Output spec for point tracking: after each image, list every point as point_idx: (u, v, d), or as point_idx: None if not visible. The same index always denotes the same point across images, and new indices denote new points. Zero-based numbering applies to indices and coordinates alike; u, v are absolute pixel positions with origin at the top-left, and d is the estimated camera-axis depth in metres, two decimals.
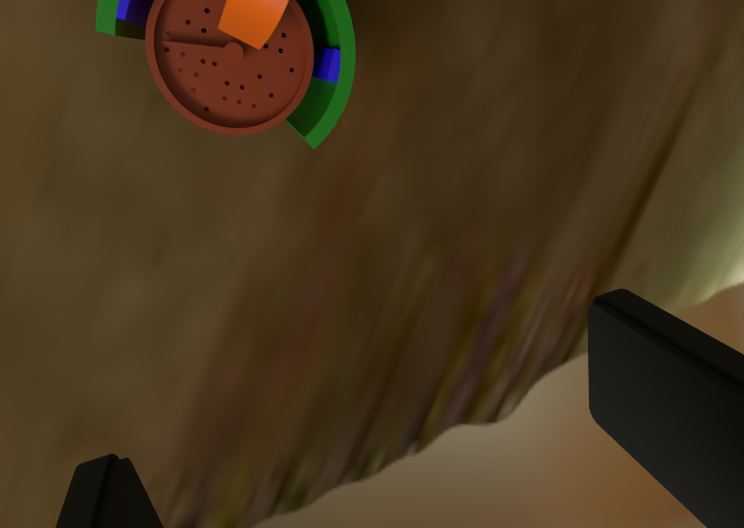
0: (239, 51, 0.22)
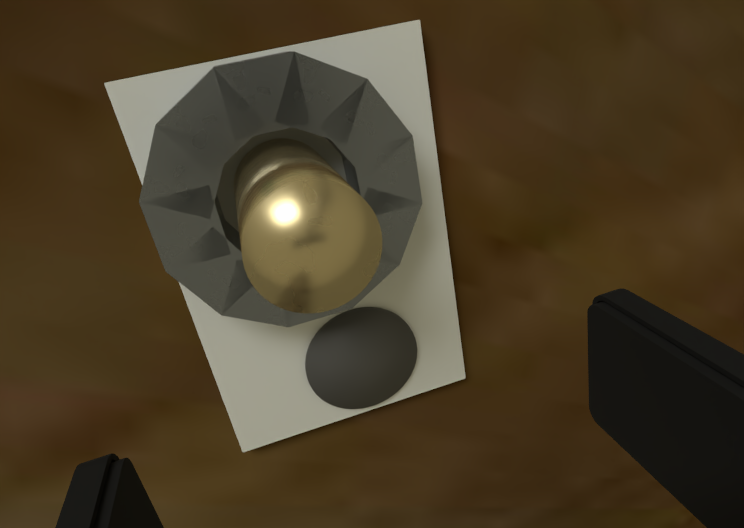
0: None
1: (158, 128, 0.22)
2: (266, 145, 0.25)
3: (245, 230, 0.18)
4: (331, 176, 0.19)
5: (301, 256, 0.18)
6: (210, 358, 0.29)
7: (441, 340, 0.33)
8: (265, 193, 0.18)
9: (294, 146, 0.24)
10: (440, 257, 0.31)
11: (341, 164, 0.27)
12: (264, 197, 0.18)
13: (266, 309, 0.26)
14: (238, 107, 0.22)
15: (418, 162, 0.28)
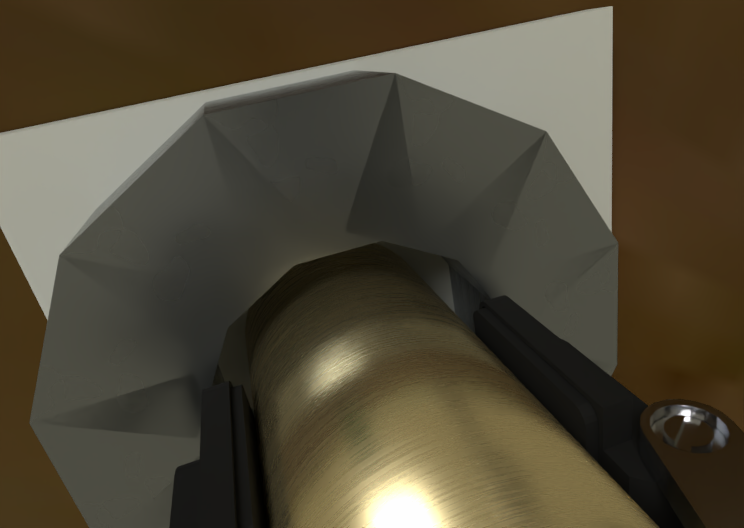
0: None
1: (69, 262, 0.09)
2: (314, 263, 0.12)
3: None
4: (570, 470, 0.06)
5: None
6: None
7: None
8: None
9: (378, 273, 0.11)
10: None
11: (447, 279, 0.15)
12: None
13: None
14: (261, 204, 0.09)
15: None
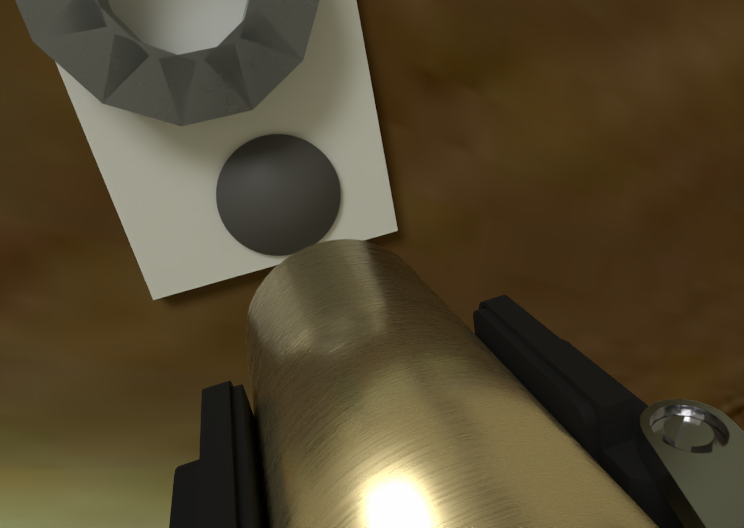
0: None
1: None
2: (314, 264, 0.12)
3: None
4: (570, 471, 0.06)
5: None
6: (108, 181, 0.27)
7: (367, 182, 0.31)
8: None
9: (378, 273, 0.11)
10: (360, 81, 0.29)
11: None
12: None
13: (154, 101, 0.24)
14: None
15: None
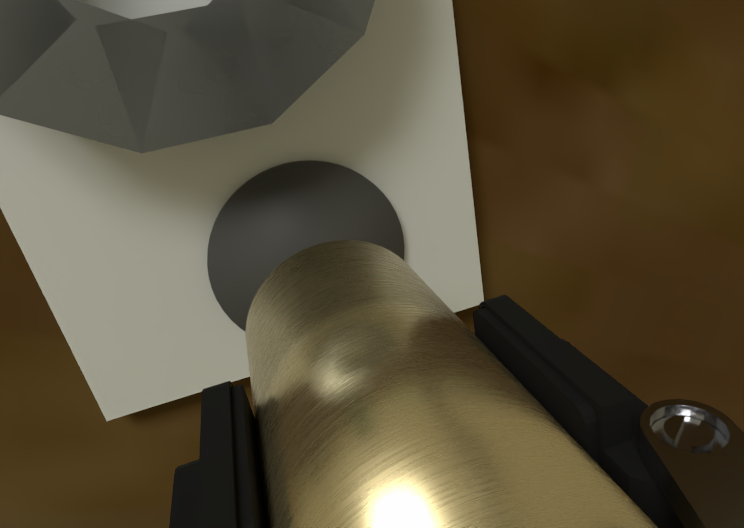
0: None
1: None
2: (314, 265, 0.12)
3: None
4: (571, 473, 0.06)
5: None
6: (23, 241, 0.16)
7: (445, 233, 0.20)
8: None
9: (378, 274, 0.11)
10: (443, 74, 0.18)
11: None
12: None
13: (89, 107, 0.13)
14: None
15: None
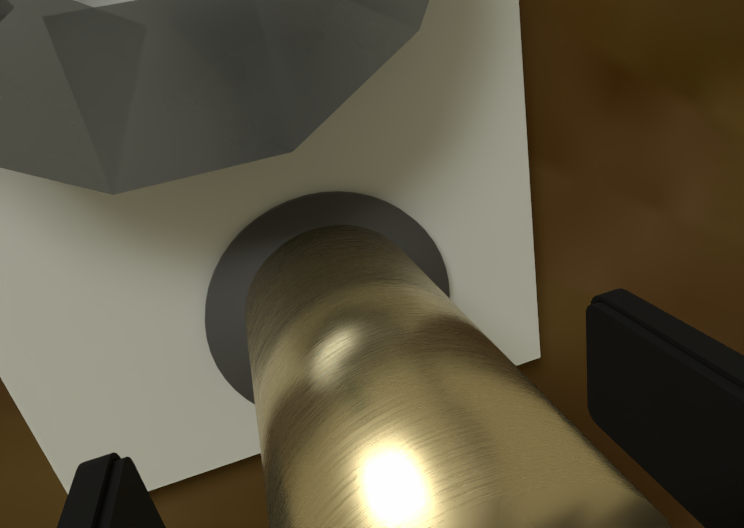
0: None
1: None
2: (311, 247, 0.13)
3: None
4: (541, 422, 0.07)
5: None
6: None
7: (498, 276, 0.16)
8: (366, 515, 0.06)
9: (371, 255, 0.12)
10: (503, 82, 0.14)
11: None
12: None
13: (36, 133, 0.09)
14: None
15: None
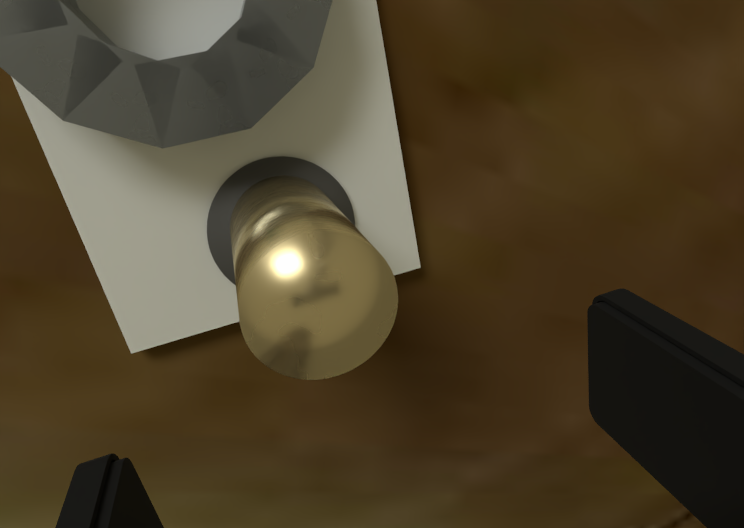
0: None
1: None
2: (265, 184, 0.23)
3: (242, 289, 0.15)
4: (339, 224, 0.17)
5: (307, 316, 0.16)
6: (75, 214, 0.22)
7: (386, 211, 0.26)
8: (265, 246, 0.16)
9: (296, 185, 0.22)
10: (379, 93, 0.24)
11: None
12: (264, 251, 0.15)
13: (128, 118, 0.19)
14: None
15: None
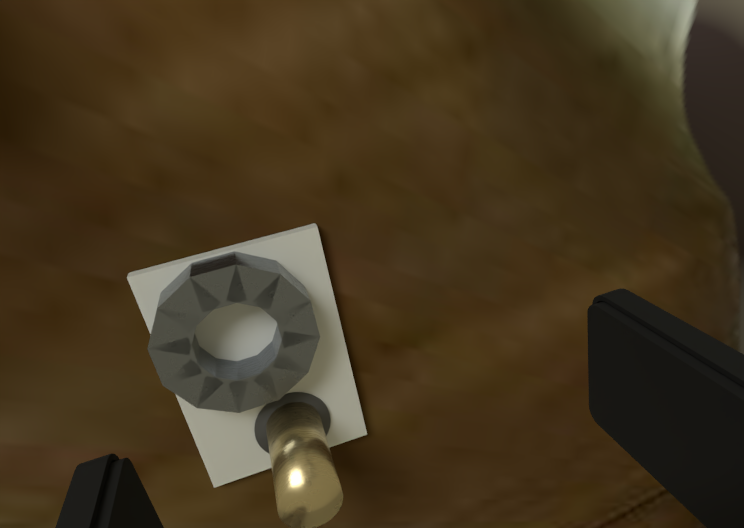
0: None
1: (159, 310, 0.38)
2: (284, 413, 0.46)
3: (279, 500, 0.39)
4: (318, 466, 0.40)
5: (304, 506, 0.40)
6: (191, 428, 0.46)
7: (347, 410, 0.50)
8: (288, 481, 0.39)
9: (300, 418, 0.45)
10: (342, 359, 0.47)
11: None
12: (288, 485, 0.39)
13: (224, 403, 0.42)
14: (204, 295, 0.39)
15: (322, 304, 0.45)
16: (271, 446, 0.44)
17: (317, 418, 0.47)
